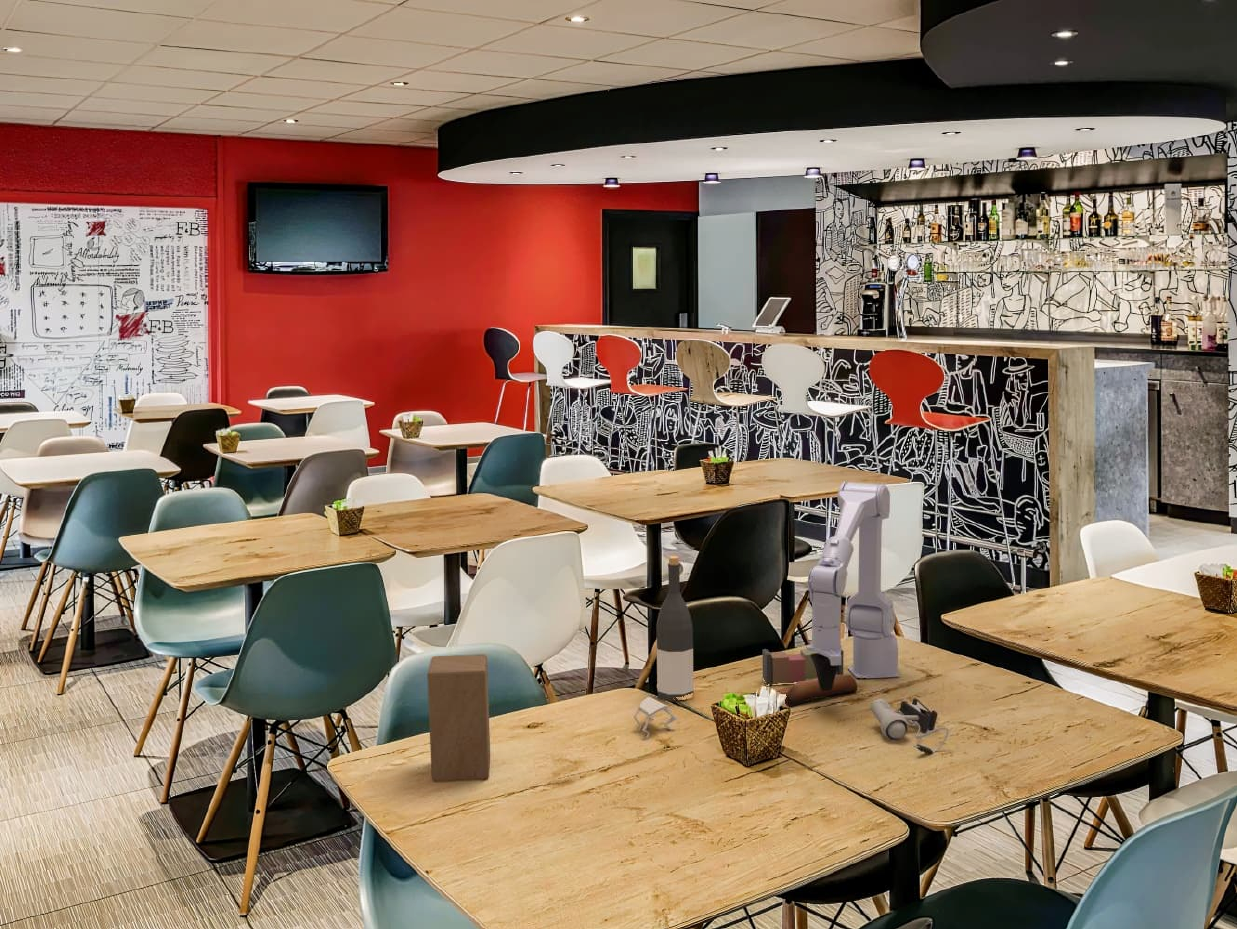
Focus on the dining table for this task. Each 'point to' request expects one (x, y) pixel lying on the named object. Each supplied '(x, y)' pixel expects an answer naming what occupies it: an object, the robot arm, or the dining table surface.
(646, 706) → the grey legged block
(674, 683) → the wine bottle
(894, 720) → the clip-on lamp
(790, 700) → the sunglasses case
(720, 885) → the dining table surface
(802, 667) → the book row
